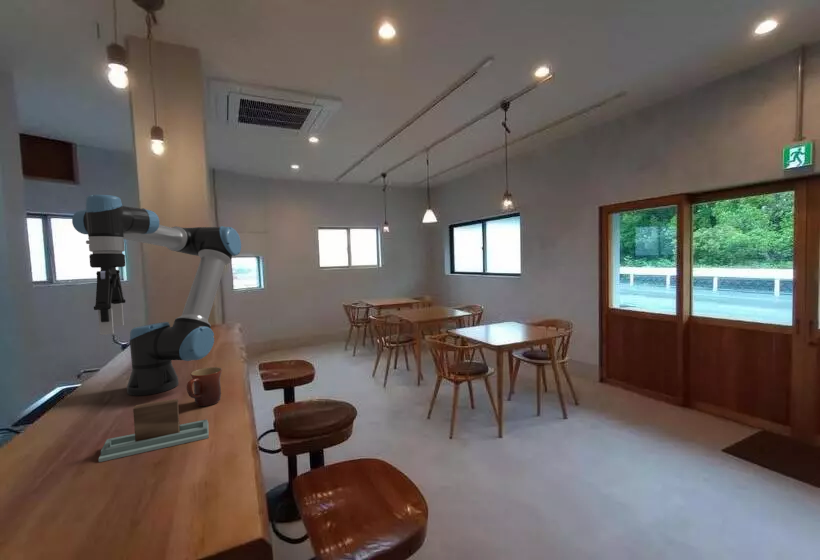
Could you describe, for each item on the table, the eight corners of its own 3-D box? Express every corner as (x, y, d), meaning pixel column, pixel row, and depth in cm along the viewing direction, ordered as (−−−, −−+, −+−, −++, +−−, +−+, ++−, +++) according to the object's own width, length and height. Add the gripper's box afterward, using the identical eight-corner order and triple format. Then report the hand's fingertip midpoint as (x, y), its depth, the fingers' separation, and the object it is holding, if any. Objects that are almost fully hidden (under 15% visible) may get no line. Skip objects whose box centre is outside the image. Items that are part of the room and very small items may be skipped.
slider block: (137, 440, 92) (135, 405, 92) (179, 432, 96) (177, 398, 96) (135, 445, 90) (133, 409, 89) (178, 436, 94) (176, 401, 93)
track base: (107, 444, 92) (107, 437, 92) (208, 424, 102) (208, 417, 102) (98, 462, 84) (98, 453, 84) (208, 437, 95) (208, 430, 94)
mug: (206, 396, 123) (204, 366, 122) (229, 398, 121) (228, 367, 121) (177, 411, 111) (175, 378, 111) (202, 413, 110) (200, 379, 109)
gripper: (101, 253, 110) (106, 324, 111) (75, 252, 88) (81, 340, 89) (132, 253, 113) (136, 321, 115) (114, 251, 91) (120, 336, 93)
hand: (112, 330), depth 102 cm, fingers open, 13 cm apart
